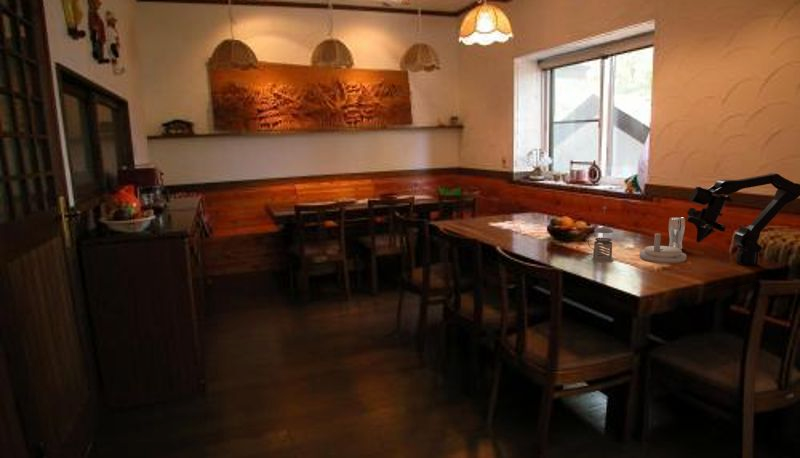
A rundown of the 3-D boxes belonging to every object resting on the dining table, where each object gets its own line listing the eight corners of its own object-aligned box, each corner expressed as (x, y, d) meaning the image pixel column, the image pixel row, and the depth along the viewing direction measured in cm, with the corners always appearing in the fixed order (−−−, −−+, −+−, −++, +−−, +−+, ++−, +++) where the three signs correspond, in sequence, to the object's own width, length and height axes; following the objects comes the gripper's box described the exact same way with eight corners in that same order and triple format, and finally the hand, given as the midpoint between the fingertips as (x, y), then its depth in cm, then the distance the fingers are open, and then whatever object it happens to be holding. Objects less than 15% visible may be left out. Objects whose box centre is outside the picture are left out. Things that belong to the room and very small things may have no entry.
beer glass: (686, 249, 239) (688, 219, 236) (671, 249, 239) (673, 219, 236) (678, 246, 246) (680, 216, 243) (664, 246, 246) (666, 217, 243)
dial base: (630, 254, 232) (631, 250, 232) (667, 252, 235) (667, 247, 235) (657, 264, 214) (657, 259, 214) (696, 261, 217) (696, 256, 216)
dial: (653, 248, 235) (654, 228, 233) (687, 253, 223) (688, 231, 221) (638, 253, 226) (639, 232, 224) (672, 259, 214) (673, 236, 212)
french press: (616, 262, 220) (618, 207, 215) (589, 262, 222) (590, 208, 218) (611, 257, 229) (613, 204, 225) (585, 257, 232) (587, 205, 227)
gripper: (709, 206, 219) (694, 238, 223) (683, 199, 210) (668, 232, 215) (733, 214, 209) (717, 247, 213) (707, 207, 201) (690, 241, 205)
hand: (697, 242), depth 212 cm, fingers closed
